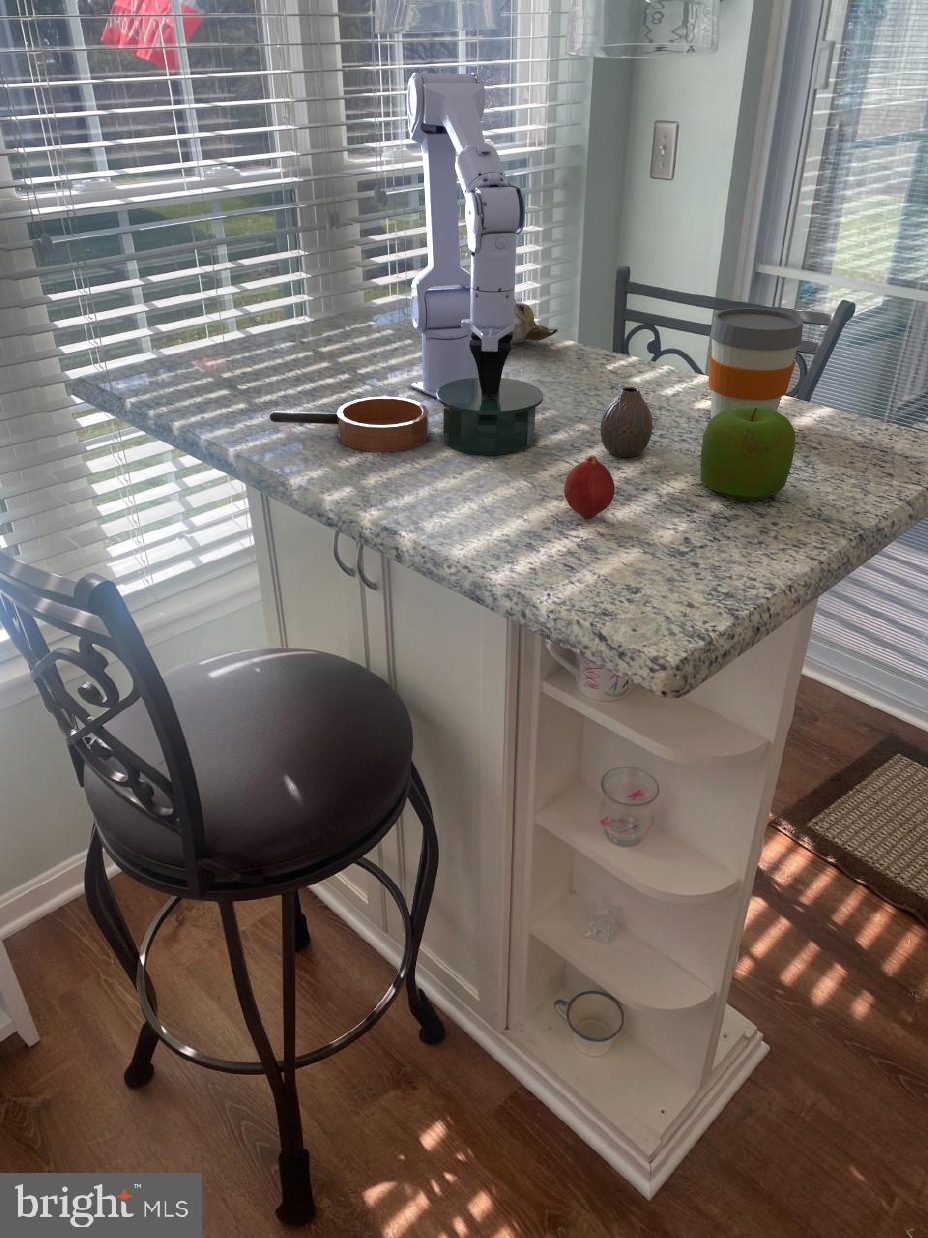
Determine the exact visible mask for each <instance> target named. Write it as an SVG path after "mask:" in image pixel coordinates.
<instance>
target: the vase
mask: <svg viewBox="0 0 928 1238" xmlns="http://www.w3.org/2000/svg"><path fill="white" fill-rule="evenodd" d="M650 409H651V408H649V406H648V404H647V403H646V401H645V400H644V398H643V396H642V394H641V390H640V389H639V388H637V387H634V386H624V387H622V388H621V389H620V390H619V392H618V394H617V395H616V396H615V397H614V398H613V399H612V400H611V401H610V403H609V404H608V405H607V406H606V408H605V409H604V411H603V414H602V417H601V420H600V438H601V441H602V445H603V446H604V448H605V449H606V451H607V452H608V453H610V455H612V456H615V457H619V458H633V457H636V456H638V455H639V454H641V453H642V452H643V451H644V450H645V449H646V448H647V446H648V445H649V443H650V440H651V438H652V433H653V426H654V425H653V424H654V423H653V417H652V412H651V410H650Z"/></svg>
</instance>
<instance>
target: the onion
mask: <svg viewBox="0 0 928 1238" xmlns="http://www.w3.org/2000/svg"><path fill="white" fill-rule="evenodd" d="M563 486H564V487H563V493H564V498H565V500H566V502H567V505H568V506H569V507H570V508H571V509H572V510H573V511H575V512H576V513H577V514H578V515H579V516H580V517H581V518H582V519H584V520H591V519H593V518H594V517H596V516H597V515H599V514H600V513H602V512H604V511H605V510H606V509H607V508H608V507H609V506H610V505H611V503H612V501H613V499H614V495H615V492H616V489H615V488H616V487H615V481H614V478H613V477H612V474H611V472H610V470H609V469H608V468H607V467H606V466H605V465H604V464H602V463H601V462H599V461H598V458H597V456H596V455H594V454H590V455H589V456H588V457H587V458H586V459H585V460H584V461H582V462H580V463H578V464H577V465H576V466H574V467H573V468H572V470H570V472H569V473H568V475H567V477H566V479H565V482H564V485H563Z"/></svg>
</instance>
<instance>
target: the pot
mask: <svg viewBox="0 0 928 1238" xmlns="http://www.w3.org/2000/svg"><path fill="white" fill-rule="evenodd" d="M442 408H443V409H442V411H443V413H442V414H443V415H442V417H443V418H442V419H443V423H442V424H443V425H442V426H443V428H442V430H443V431H442V432H443V434H442V435H443V440H444V443H445V444H446V445H447V446H448V447H450V448H451V449H454V450H456V451H458V452H462V453H465V454H471V455H477V456H505V455H506V456H507V455H512V454H517V453H521V452H523V451H526V450H527V449H529V448H530V447H531V446H532V445H533V444H534V442H535V430H536V429H535V428H536V427H535V426H536V408H537V407H535V408H533V409H531V410H528V411H524V412H520V413H514V414H505V415H481V414H472V413H465V412H461V411H457V410H453V409H451V408H448V407H446V406H444V405H442Z"/></svg>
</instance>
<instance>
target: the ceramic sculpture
mask: <svg viewBox="0 0 928 1238" xmlns="http://www.w3.org/2000/svg"><path fill="white" fill-rule="evenodd" d="M514 321H515V328H514V330H512V332H513V338H512V340H511V342H510V344H512V345H513V344H519V343H523V342H525V341H533V342H534V341H535V342H537V341H543V340H545V339H548V338H549V337H552V336H553V335H554V334H556V333H558V331H559V328H548V327H547V326H545V325H543V324H537V323H536V322H535V314H534V311H533V309H532V308H531V307H530V306H529V304H527V303H525V302H522V301H516V298H515V297H514Z"/></svg>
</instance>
